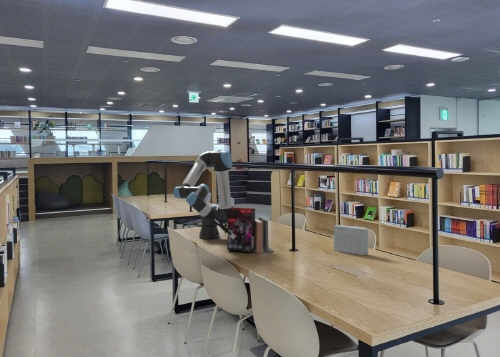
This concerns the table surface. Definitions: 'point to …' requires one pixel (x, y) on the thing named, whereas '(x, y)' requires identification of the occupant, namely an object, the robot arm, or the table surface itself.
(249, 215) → the graphics card box
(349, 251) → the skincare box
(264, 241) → the bookend
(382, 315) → the table surface
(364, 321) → the table surface
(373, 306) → the table surface
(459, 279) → the table surface
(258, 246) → the book
